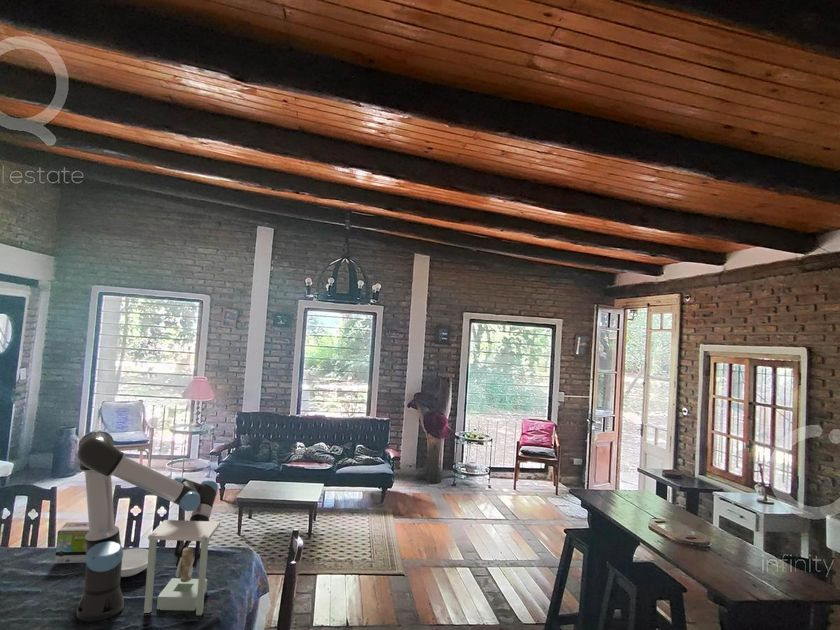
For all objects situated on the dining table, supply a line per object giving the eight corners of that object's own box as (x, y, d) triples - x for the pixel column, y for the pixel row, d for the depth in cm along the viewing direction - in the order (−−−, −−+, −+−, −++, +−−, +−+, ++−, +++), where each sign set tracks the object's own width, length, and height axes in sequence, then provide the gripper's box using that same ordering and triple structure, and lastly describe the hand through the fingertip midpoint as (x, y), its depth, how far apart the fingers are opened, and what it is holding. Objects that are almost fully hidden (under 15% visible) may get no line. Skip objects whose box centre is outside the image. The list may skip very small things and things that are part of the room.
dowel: (178, 582, 202) (181, 551, 203) (182, 576, 206) (184, 547, 207) (189, 582, 203) (191, 552, 203) (192, 577, 207) (195, 547, 207)
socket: (142, 614, 192) (148, 535, 193) (161, 590, 209) (166, 517, 210) (202, 615, 194) (208, 537, 195) (216, 591, 211) (221, 519, 212)
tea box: (54, 564, 223) (56, 530, 223) (63, 554, 233) (66, 521, 233) (92, 562, 227) (95, 529, 227) (100, 552, 237) (103, 520, 237)
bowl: (163, 565, 229) (164, 551, 229) (134, 587, 210) (135, 572, 210) (122, 560, 231) (123, 546, 231) (89, 582, 212) (90, 566, 212)
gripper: (222, 521, 221) (207, 579, 204) (181, 520, 219) (162, 578, 203) (219, 514, 216) (203, 573, 199) (177, 512, 214) (158, 572, 197)
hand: (183, 575), depth 201 cm, fingers closed on dowel, 4 cm apart
